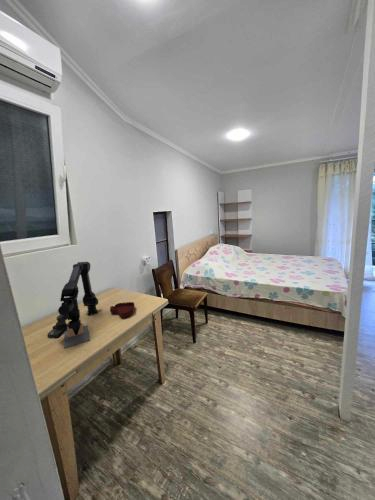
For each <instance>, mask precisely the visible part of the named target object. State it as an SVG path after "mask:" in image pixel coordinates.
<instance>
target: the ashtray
mask: <svg viewBox="0 0 375 500" xmlns="http://www.w3.org/2000/svg"><path fill="white" fill-rule="evenodd" d="M135 308H136V307H135V302H134V301H133V302H132V301H131V302H129V301H128V302H119V303H118V302H117V303H116V304H115V305H114V306H113V305H111V306H110V307H109V311H110V312H111V313H112V314H114V315H115V314H117V315H118V316H119V317H121V318H123V319H126V318H128V317H129V316H131V315H132V314H133V313H134V312H135Z"/></svg>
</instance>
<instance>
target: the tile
mask: <svg viewBox="0 0 375 500" xmlns="http://www.w3.org/2000/svg"><path fill="white" fill-rule="evenodd" d="M83 326H84V325H83V322H81V326H80V329H79V332H78V335H79V334H82V333H84V330H83ZM67 329H68V330H67V331H68V336H69V337H72V336H75V333H74V331H73V329H69V328H68V327H67Z"/></svg>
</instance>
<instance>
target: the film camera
mask: <svg viewBox="0 0 375 500" xmlns="http://www.w3.org/2000/svg"><path fill="white" fill-rule="evenodd" d="M66 321H67V320H65V321H64V322H62V323H61V324H59V323H58V321H57V322H55V325H53V326H52V329H51V330H50V331H49V332H48V333H47V338H53V339H58V338H60V337H61V336H62V335H64V331H68V329H67V327H68V322H66Z"/></svg>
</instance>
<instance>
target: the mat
mask: <svg viewBox="0 0 375 500" xmlns="http://www.w3.org/2000/svg"><path fill="white" fill-rule="evenodd" d="M83 330H84V333H82V334H79V335H75V336H72V337H69V336H68V330H67V331H64V333H63V335H64V337H63V338H64V339H63V349H66V348H71V347H74V346H77V345H80V344H83V343H86V342H90V341H91V338H90V337H91V336H90V331H89V325H83Z"/></svg>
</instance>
